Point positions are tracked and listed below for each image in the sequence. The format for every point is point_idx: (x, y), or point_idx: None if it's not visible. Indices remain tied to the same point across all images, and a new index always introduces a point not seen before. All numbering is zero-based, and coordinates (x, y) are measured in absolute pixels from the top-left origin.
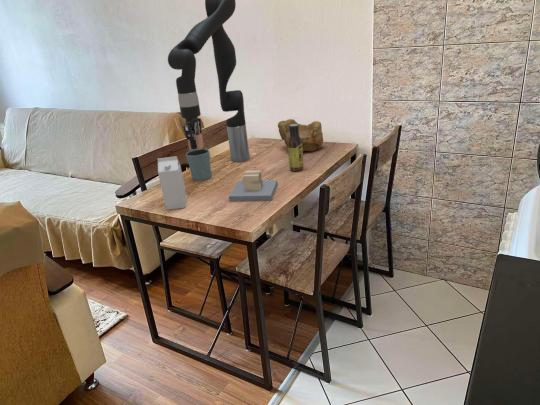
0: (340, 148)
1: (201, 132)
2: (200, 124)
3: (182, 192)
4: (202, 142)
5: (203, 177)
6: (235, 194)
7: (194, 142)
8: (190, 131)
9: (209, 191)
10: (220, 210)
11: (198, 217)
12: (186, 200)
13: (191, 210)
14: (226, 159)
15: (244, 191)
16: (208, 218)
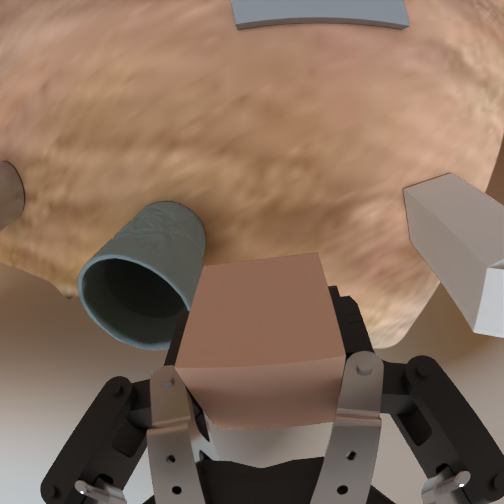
0: None
1: (113, 380)
2: (78, 457)
3: (479, 192)
4: (215, 291)
5: (193, 219)
6: (390, 4)
7: (349, 336)
8: (488, 434)
9: (316, 133)
10: (460, 53)
11: (495, 112)
12: (415, 186)
13: (464, 145)
14: (21, 235)
15: None
16: (497, 84)
